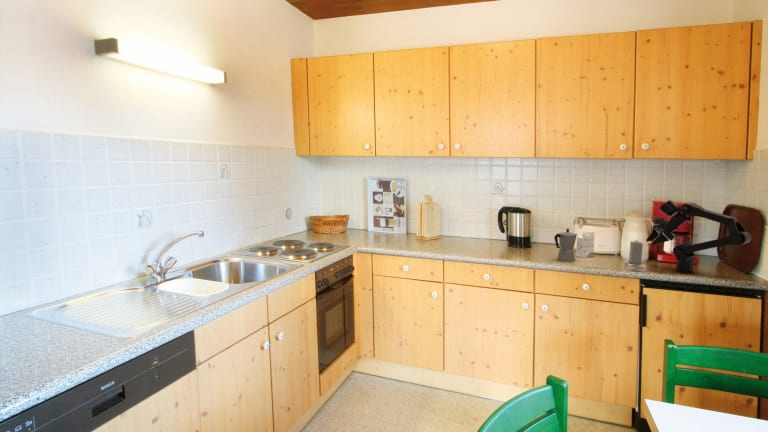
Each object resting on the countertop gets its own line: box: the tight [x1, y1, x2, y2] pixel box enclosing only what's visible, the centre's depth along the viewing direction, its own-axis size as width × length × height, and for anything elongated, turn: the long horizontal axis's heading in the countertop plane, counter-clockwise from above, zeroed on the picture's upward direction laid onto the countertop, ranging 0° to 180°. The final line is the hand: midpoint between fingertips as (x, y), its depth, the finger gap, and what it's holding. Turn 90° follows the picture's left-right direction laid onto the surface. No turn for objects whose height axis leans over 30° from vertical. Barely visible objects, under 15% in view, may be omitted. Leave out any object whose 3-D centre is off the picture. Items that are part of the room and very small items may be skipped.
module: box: [628, 239, 644, 265], centre depth 232 cm, size 4×5×14 cm
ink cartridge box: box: [575, 231, 595, 259], centre depth 261 cm, size 9×5×15 cm, turn 105°
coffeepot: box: [553, 228, 578, 263], centre depth 251 cm, size 15×9×18 cm, turn 110°
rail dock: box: [623, 260, 647, 273], centre depth 233 cm, size 8×9×3 cm
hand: (648, 242), depth 233 cm, fingers open, 9 cm apart
